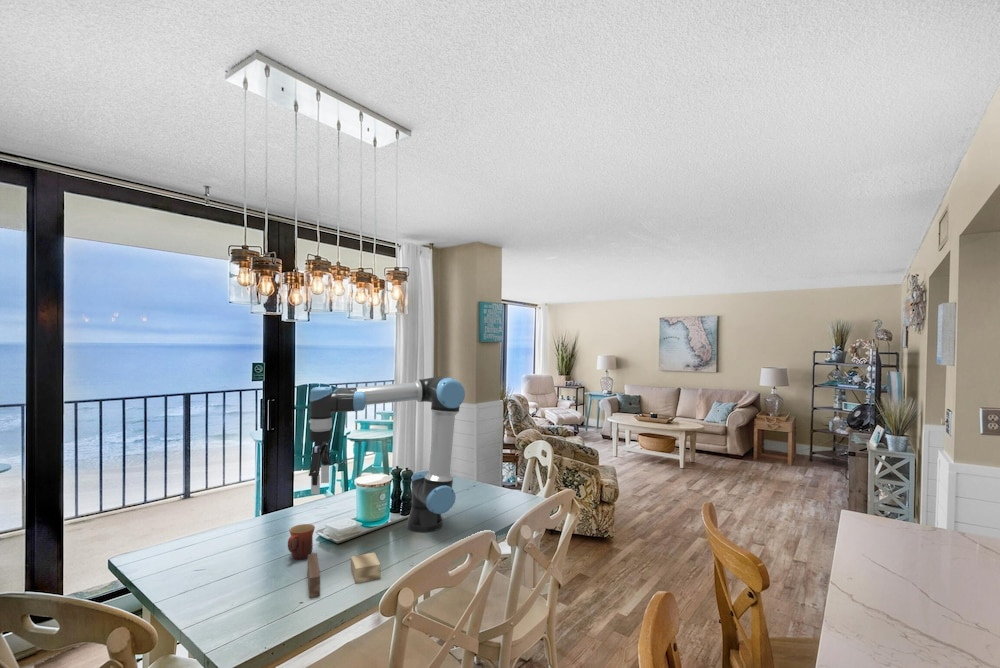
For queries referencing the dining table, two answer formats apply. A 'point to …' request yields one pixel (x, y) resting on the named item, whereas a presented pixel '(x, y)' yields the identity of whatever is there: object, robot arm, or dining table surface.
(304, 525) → the mug
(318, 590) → the wooden block
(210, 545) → the dining table surface
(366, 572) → the oak block
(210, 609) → the dining table surface
